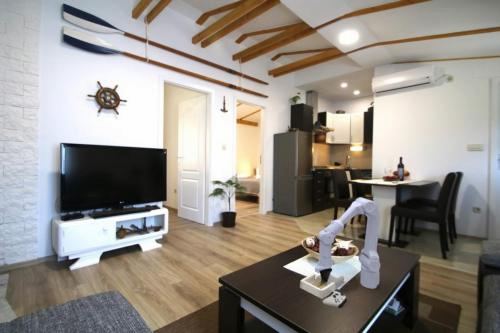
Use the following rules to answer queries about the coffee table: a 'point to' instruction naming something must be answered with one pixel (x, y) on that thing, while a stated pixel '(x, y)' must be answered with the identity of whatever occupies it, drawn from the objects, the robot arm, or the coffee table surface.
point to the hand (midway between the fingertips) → (324, 282)
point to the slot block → (337, 281)
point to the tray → (314, 290)
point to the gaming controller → (335, 299)
